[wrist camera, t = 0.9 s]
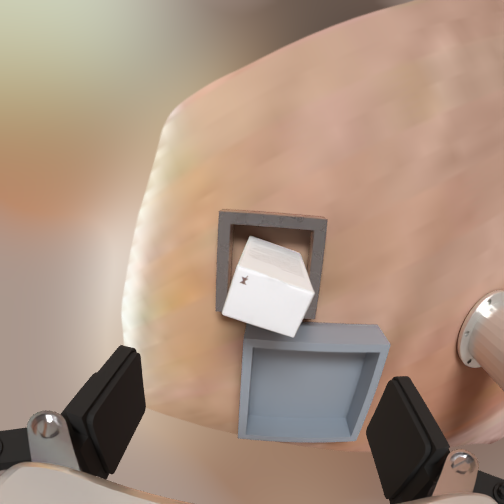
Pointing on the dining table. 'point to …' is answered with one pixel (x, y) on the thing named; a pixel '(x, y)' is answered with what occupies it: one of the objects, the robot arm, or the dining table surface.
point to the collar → (269, 220)
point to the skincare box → (269, 288)
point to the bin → (309, 381)
